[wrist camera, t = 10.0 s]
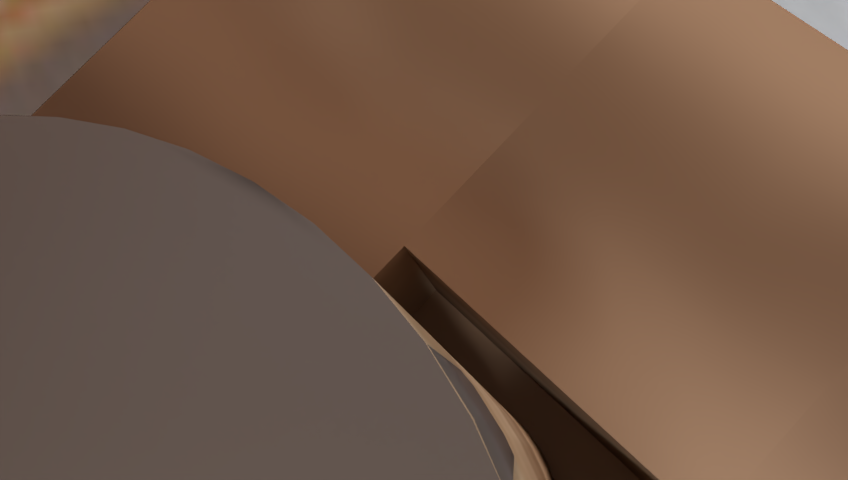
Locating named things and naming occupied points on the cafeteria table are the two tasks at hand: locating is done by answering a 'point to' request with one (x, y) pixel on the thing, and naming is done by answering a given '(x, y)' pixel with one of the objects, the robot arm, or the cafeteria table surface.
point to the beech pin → (209, 332)
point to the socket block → (550, 200)
